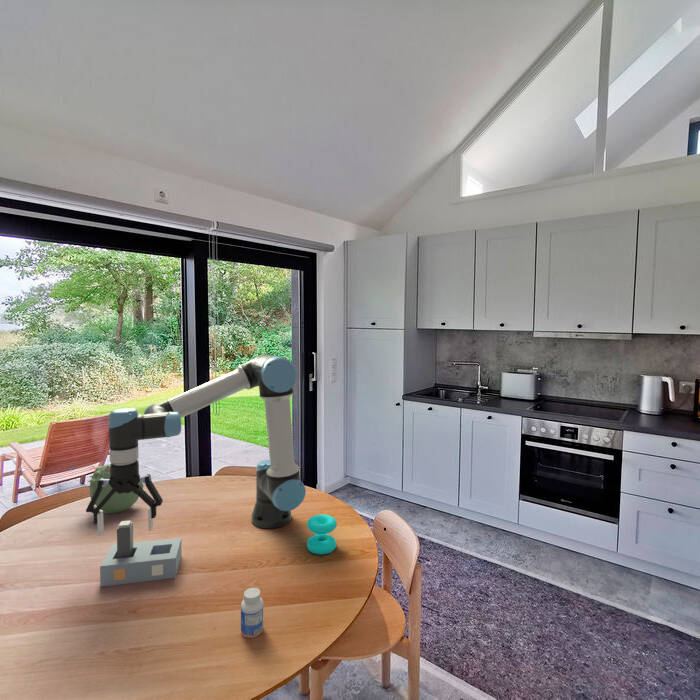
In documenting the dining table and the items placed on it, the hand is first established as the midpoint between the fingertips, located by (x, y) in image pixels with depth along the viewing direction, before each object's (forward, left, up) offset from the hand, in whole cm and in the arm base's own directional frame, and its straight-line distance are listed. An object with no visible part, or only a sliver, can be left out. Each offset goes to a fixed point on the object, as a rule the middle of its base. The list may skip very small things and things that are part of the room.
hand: (126, 531), depth 126 cm
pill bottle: (-36, +33, -13) cm, 51 cm away
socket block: (-5, 0, -13) cm, 14 cm away
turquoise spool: (-60, -1, -13) cm, 61 cm away
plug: (0, 0, -11) cm, 11 cm away
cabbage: (+14, -45, -13) cm, 49 cm away
